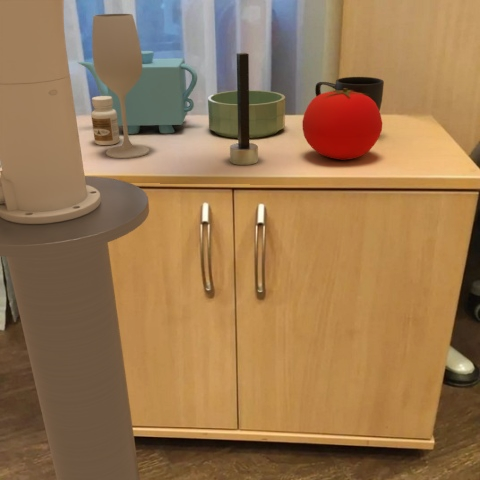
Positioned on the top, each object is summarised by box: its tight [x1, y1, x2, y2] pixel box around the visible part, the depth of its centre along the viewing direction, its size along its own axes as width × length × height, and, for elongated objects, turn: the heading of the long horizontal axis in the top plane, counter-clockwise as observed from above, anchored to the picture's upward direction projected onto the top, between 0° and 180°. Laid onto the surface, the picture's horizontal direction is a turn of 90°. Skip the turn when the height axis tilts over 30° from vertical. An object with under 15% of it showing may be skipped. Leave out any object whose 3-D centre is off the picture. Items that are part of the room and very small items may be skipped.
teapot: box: [77, 50, 198, 135], centre depth 114 cm, size 22×11×14 cm, turn 89°
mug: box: [314, 76, 385, 113], centre depth 107 cm, size 8×12×10 cm
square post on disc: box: [229, 52, 259, 166], centre depth 92 cm, size 4×4×16 cm
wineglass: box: [91, 13, 150, 159], centre depth 97 cm, size 8×8×21 cm
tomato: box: [301, 88, 383, 161], centre depth 95 cm, size 11×12×10 cm
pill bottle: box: [90, 95, 121, 146], centre depth 106 cm, size 4×4×8 cm
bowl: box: [207, 89, 286, 139], centre depth 113 cm, size 14×14×6 cm
